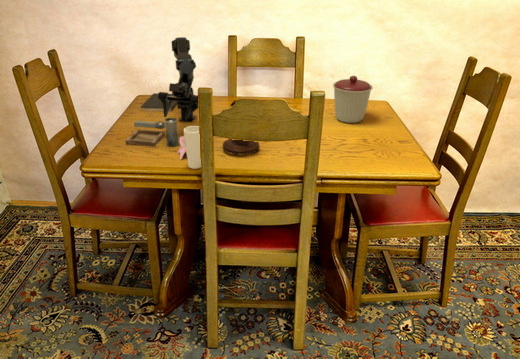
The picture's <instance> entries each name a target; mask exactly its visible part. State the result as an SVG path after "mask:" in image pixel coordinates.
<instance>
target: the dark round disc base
mask: <svg viewBox="0 0 520 359" xmlns="http://www.w3.org/2000/svg"><path fill="white" fill-rule="evenodd" d="M237 100H238V99H237ZM237 100H236V99H235V100H233V101H232V102H231V104H230V106H229V108H230V107H231V106H233V105H234V104H235V102H236V101H237ZM222 149H223V150H224V151H225V152H227V153H229V154H234V156H235V157H238V156H239V155H246V154H247V155H248V154H252V153H255V152H257V153H258V151H259V149H260V143H259V141H258V142H254V141H243V140H232V139H230V138H227V139H226V140H225V141H223V143H222Z"/></svg>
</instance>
